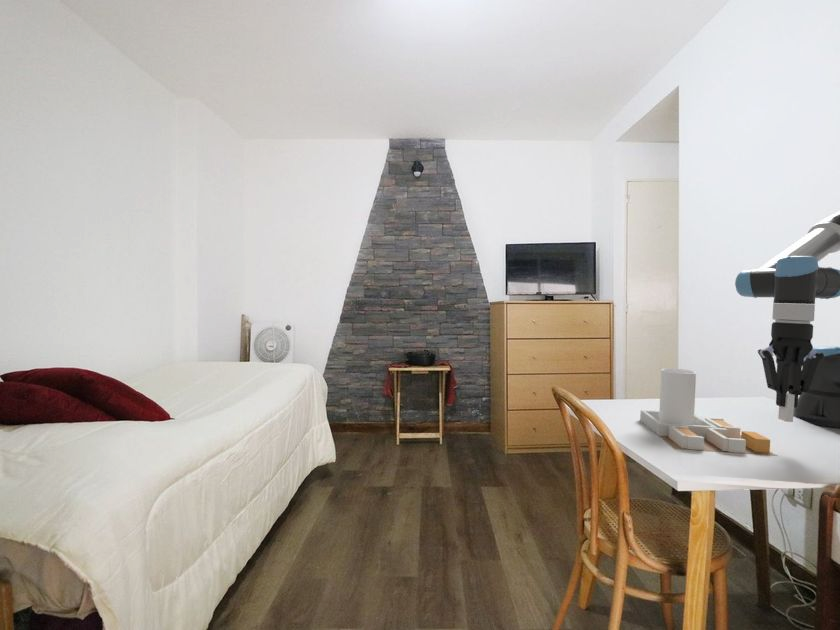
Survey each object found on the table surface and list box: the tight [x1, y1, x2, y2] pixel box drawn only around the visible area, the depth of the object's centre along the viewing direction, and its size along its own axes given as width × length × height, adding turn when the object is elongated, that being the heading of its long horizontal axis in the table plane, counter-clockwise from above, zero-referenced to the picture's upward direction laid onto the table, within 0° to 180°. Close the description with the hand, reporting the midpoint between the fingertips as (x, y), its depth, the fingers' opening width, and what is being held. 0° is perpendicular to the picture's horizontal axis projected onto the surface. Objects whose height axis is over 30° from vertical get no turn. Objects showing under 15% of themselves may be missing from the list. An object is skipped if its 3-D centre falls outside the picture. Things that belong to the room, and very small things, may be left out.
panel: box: [645, 424, 778, 457], centre depth 114 cm, size 22×24×1 cm
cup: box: [658, 368, 697, 425], centre depth 119 cm, size 8×8×16 cm
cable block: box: [740, 430, 771, 452], centre depth 105 cm, size 3×6×3 cm, turn 171°
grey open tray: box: [706, 428, 746, 454], centre depth 107 cm, size 4×9×3 cm, turn 171°
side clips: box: [669, 417, 741, 451], centre depth 112 cm, size 18×19×3 cm
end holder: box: [639, 409, 718, 438], centre depth 119 cm, size 14×14×3 cm
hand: (785, 420), depth 104 cm, fingers closed
